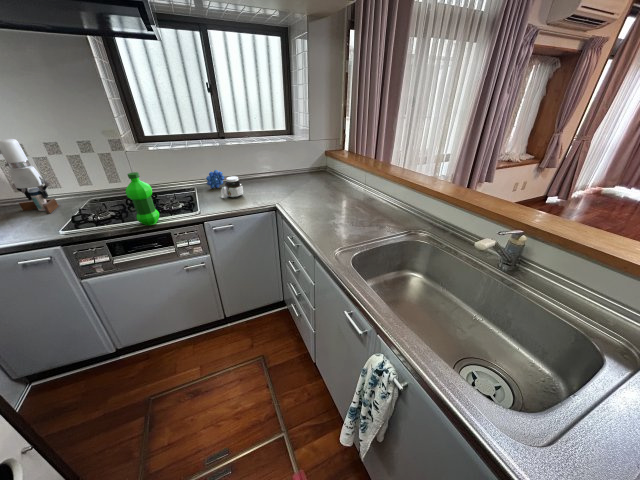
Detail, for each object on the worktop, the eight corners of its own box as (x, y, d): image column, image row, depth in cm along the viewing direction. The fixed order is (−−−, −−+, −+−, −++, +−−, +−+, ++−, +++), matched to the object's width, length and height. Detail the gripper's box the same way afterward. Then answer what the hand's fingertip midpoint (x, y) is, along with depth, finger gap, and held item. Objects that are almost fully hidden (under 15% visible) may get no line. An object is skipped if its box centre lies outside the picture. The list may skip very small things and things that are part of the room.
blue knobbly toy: (225, 184, 184) (221, 167, 178) (226, 187, 178) (223, 170, 172) (207, 187, 179) (203, 169, 173) (208, 190, 174) (204, 172, 168)
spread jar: (245, 196, 165) (243, 177, 159) (231, 201, 157) (228, 182, 151) (232, 192, 170) (229, 174, 165) (218, 197, 162) (214, 179, 156)
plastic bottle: (166, 219, 136) (151, 171, 124) (151, 228, 127) (133, 177, 115) (149, 217, 138) (132, 169, 125) (133, 226, 129) (113, 176, 117)
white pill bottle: (52, 207, 149) (40, 187, 143) (49, 210, 146) (37, 189, 140) (41, 209, 148) (29, 188, 142) (37, 212, 144) (25, 191, 138)
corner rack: (13, 218, 137) (8, 210, 135) (24, 209, 147) (19, 202, 144) (50, 213, 143) (46, 205, 140) (58, 205, 152) (54, 198, 150)
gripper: (-8, 168, 128) (14, 203, 137) (38, 164, 134) (56, 198, 143) (1, 164, 134) (21, 198, 143) (44, 161, 140) (61, 194, 149)
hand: (38, 198), depth 143 cm, fingers open, 5 cm apart
